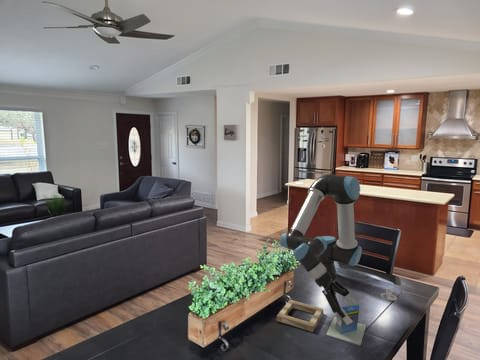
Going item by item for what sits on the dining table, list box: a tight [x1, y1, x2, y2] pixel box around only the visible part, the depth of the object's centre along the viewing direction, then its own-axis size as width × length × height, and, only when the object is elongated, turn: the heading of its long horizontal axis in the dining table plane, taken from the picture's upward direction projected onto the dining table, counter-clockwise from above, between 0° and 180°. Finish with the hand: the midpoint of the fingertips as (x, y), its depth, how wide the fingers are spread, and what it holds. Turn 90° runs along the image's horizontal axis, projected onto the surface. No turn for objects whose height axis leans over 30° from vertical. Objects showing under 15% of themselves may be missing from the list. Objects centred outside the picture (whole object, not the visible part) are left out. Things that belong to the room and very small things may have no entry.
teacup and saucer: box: [380, 288, 398, 302], centre depth 178 cm, size 9×8×4 cm
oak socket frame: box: [276, 299, 325, 333], centre depth 157 cm, size 17×17×2 cm
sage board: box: [325, 316, 367, 346], centre depth 148 cm, size 16×14×1 cm
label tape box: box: [335, 304, 360, 333], centre depth 146 cm, size 9×4×12 cm, turn 110°
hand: (353, 315), depth 146 cm, fingers open, 13 cm apart
